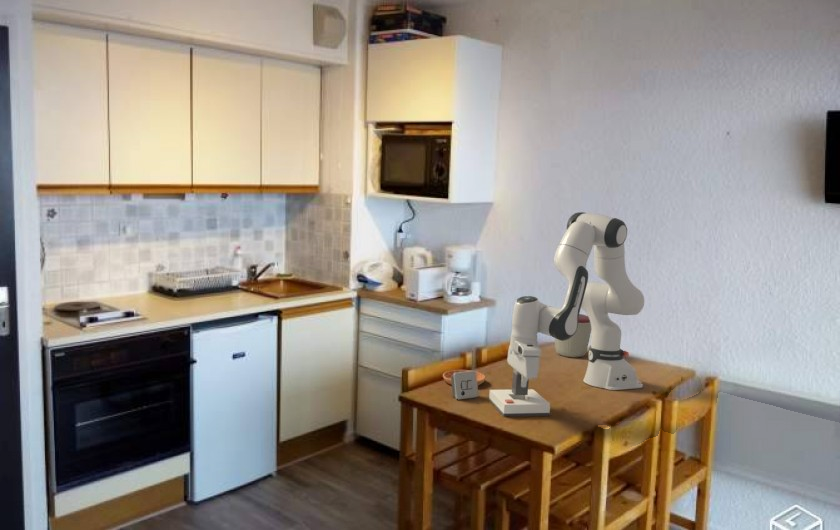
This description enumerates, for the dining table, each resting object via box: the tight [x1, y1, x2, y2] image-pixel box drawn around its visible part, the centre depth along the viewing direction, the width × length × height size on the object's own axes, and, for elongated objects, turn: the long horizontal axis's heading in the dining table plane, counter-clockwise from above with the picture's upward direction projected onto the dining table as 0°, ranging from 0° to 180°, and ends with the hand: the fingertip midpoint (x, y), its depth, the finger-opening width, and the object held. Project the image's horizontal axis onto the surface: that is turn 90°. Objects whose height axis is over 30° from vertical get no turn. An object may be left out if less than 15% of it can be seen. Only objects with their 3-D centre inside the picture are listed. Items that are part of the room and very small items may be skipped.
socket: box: [488, 388, 551, 418], centre depth 248 cm, size 16×16×5 cm
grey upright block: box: [511, 368, 530, 395], centre depth 247 cm, size 4×4×8 cm
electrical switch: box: [451, 370, 479, 400], centre depth 257 cm, size 9×5×9 cm, turn 121°
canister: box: [554, 313, 591, 358], centre depth 325 cm, size 18×18×21 cm
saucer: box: [442, 369, 486, 387], centre depth 275 cm, size 16×16×3 cm
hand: (520, 384), depth 247 cm, fingers closed on grey upright block, 4 cm apart
